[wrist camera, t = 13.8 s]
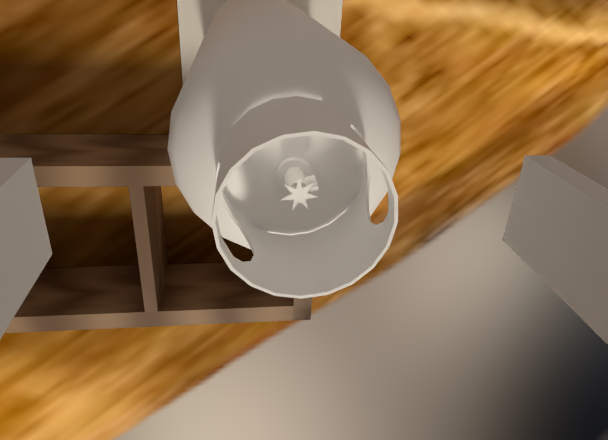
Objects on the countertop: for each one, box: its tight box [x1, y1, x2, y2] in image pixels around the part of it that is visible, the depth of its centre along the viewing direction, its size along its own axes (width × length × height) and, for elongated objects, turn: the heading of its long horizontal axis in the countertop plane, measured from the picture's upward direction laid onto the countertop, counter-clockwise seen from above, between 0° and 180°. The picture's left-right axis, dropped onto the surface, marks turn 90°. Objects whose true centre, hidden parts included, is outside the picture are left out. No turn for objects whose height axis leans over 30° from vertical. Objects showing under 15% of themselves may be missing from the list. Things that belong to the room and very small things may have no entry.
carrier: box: [0, 134, 312, 333], centre depth 39 cm, size 26×14×7 cm, turn 88°
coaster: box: [177, 0, 343, 84], centre depth 37 cm, size 12×12×1 cm
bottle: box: [167, 0, 400, 299], centre depth 24 cm, size 8×8×28 cm
